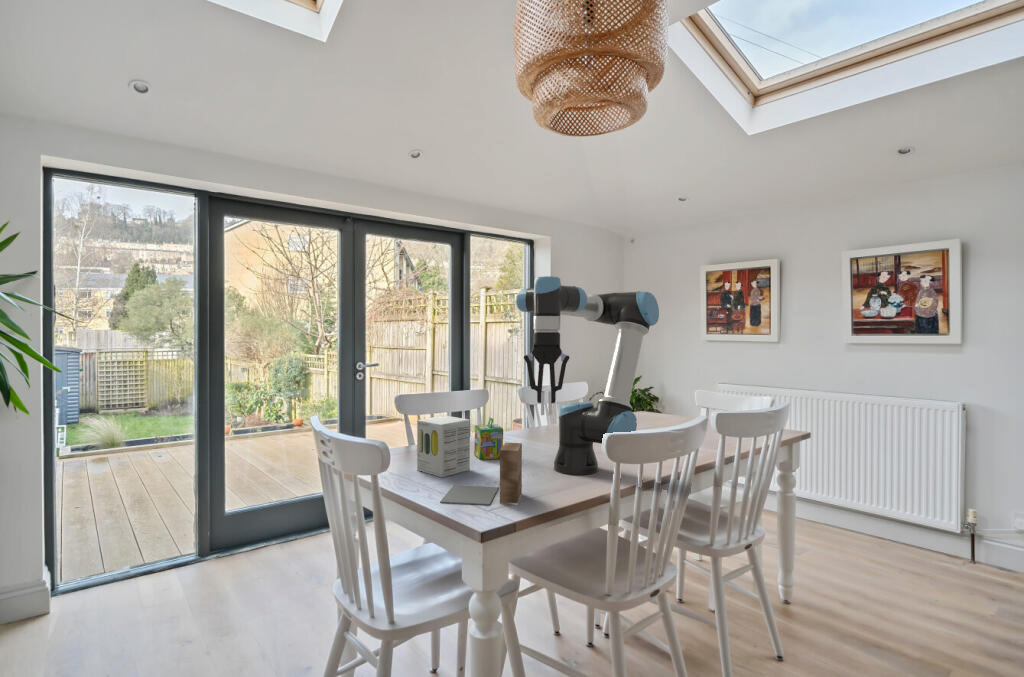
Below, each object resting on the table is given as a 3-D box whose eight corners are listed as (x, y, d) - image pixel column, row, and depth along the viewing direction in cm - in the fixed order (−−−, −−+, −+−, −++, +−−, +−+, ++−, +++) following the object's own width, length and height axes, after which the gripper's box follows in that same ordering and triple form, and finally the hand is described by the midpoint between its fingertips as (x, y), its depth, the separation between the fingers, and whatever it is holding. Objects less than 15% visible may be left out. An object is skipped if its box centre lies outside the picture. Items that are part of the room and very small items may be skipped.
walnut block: (521, 493, 161) (521, 443, 160) (517, 504, 151) (517, 450, 150) (504, 492, 161) (505, 442, 161) (499, 503, 151) (499, 450, 151)
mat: (498, 488, 166) (498, 487, 166) (489, 505, 150) (489, 504, 150) (453, 486, 167) (453, 485, 167) (440, 503, 152) (440, 501, 152)
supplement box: (415, 470, 186) (415, 419, 185) (444, 463, 196) (444, 415, 195) (442, 477, 177) (442, 424, 177) (470, 469, 187) (470, 419, 187)
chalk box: (473, 455, 209) (474, 416, 208) (496, 453, 211) (497, 415, 211) (479, 460, 200) (479, 420, 199) (503, 459, 203) (503, 419, 202)
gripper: (572, 331, 156) (572, 413, 157) (523, 331, 158) (522, 411, 159) (572, 331, 149) (571, 417, 150) (520, 331, 151) (519, 416, 151)
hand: (546, 414), depth 154 cm, fingers closed
